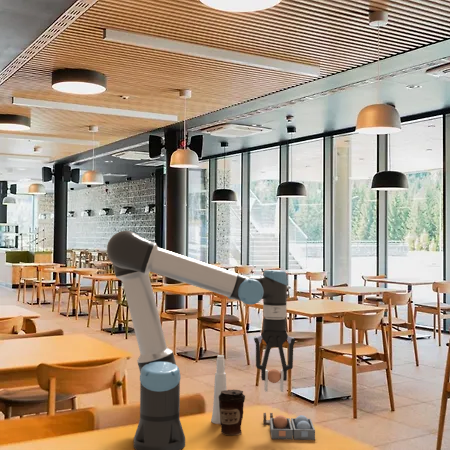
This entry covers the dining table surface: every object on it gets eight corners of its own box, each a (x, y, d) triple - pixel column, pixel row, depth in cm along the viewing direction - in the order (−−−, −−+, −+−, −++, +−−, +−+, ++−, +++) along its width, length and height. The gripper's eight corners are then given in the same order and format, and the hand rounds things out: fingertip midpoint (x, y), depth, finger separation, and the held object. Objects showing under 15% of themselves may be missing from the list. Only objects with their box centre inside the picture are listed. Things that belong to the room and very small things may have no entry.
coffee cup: (242, 438, 188) (242, 395, 188) (215, 436, 189) (215, 394, 190) (246, 429, 196) (247, 388, 197) (221, 427, 198) (221, 387, 198)
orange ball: (267, 384, 195) (267, 370, 195) (266, 381, 199) (266, 367, 200) (281, 384, 195) (281, 370, 195) (279, 381, 199) (280, 367, 200)
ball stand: (263, 424, 202) (263, 415, 202) (263, 421, 205) (263, 412, 205) (273, 424, 202) (273, 415, 202) (272, 421, 205) (272, 412, 205)
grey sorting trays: (271, 439, 187) (271, 429, 187) (269, 427, 199) (270, 418, 199) (315, 440, 186) (315, 430, 186) (310, 427, 199) (310, 418, 199)
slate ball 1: (295, 431, 194) (295, 417, 194) (294, 427, 198) (294, 413, 198) (309, 431, 193) (309, 417, 193) (307, 427, 198) (307, 413, 198)
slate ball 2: (297, 437, 188) (297, 423, 188) (295, 433, 192) (295, 418, 192) (311, 437, 187) (311, 423, 188) (309, 433, 192) (309, 419, 192)
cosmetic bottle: (232, 421, 205) (233, 355, 206) (220, 425, 201) (221, 357, 201) (219, 417, 209) (219, 353, 210) (207, 421, 205) (207, 355, 205)
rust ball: (273, 431, 194) (273, 417, 194) (273, 426, 198) (273, 413, 198) (287, 431, 194) (287, 417, 194) (286, 427, 198) (286, 413, 198)
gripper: (248, 319, 194) (247, 393, 193) (303, 319, 194) (302, 393, 194) (247, 316, 201) (246, 387, 201) (299, 316, 202) (299, 388, 201)
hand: (273, 390), depth 197 cm, fingers closed on orange ball, 4 cm apart
